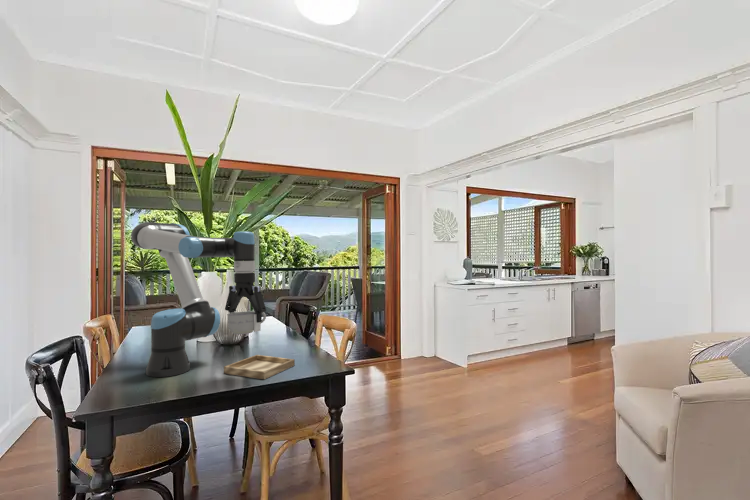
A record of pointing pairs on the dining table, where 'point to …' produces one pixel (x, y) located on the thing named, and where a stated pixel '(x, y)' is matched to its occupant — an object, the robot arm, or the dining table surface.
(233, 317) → the teacup
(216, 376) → the dining table surface
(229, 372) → the serving tray
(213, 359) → the dining table surface
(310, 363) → the dining table surface
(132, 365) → the dining table surface
